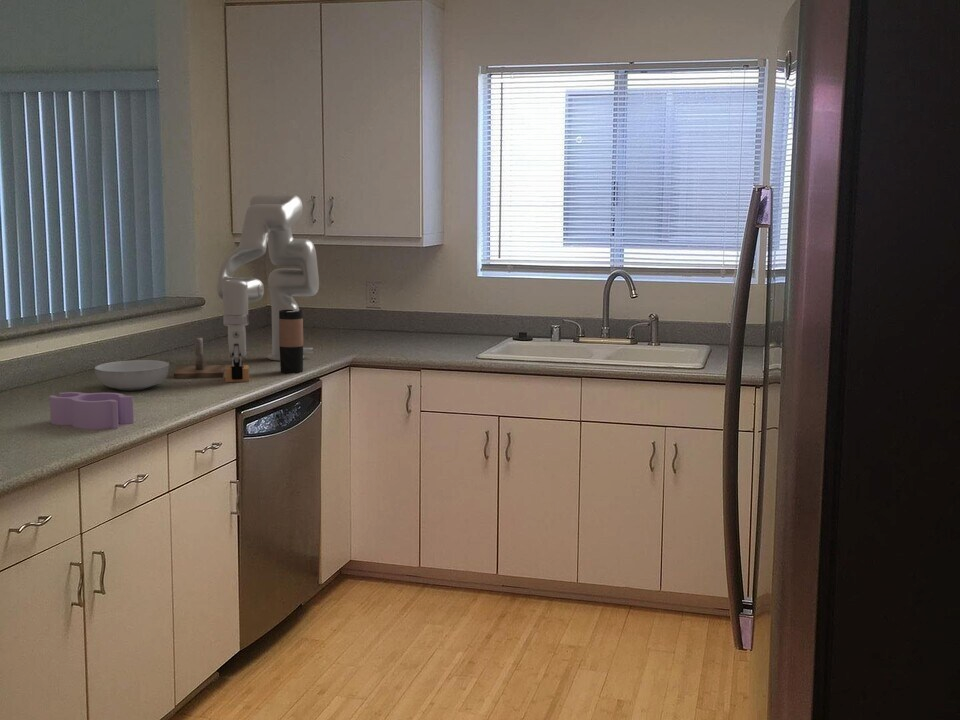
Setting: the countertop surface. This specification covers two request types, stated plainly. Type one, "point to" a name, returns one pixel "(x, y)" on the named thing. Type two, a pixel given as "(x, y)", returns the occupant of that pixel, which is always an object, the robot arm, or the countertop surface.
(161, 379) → the serving bowl
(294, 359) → the travel mug
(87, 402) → the clip
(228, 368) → the collar
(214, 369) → the post stand
